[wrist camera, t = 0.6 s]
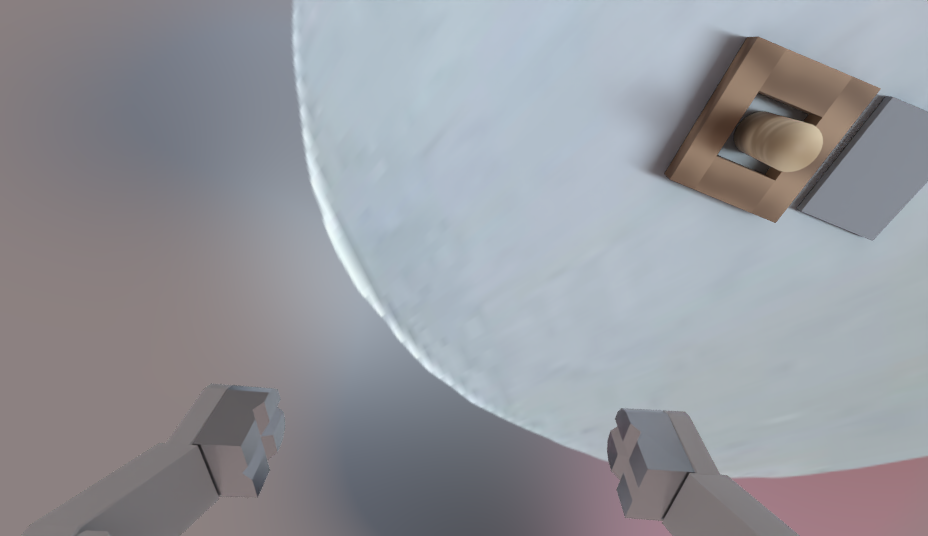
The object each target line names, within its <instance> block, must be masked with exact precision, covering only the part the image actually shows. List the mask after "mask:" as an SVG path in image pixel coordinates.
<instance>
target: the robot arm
mask: <svg viewBox="0 0 928 536" xmlns="http://www.w3.org/2000/svg"><path fill="white" fill-rule="evenodd" d="M279 401H280V396H279V393H278V390H277V389H272V388H261V387H249V386H237V385H222V384H210V385H209V386H207V387H206V388H204V389H203V391H202V392H201V394H200V395H199V396H198V398H197V399H196V401H195V402H194V404H193V405H192V406H191V408H190V409H189V411H188V412H187V414H186V415H185V416H184V418H183V419H182V421H181V422H180V424H179V425H178V426H177V428H176V429H175V431H174V432H173V434H172V435H171V436H170V438H169V439H168V441H167V442H166V443H158V444H157V445H155V446H154V447H152V448H150V449H149V450H147V451H146V452H144V453H142V454H141V455H139V456H138V457H136V458H135V459H133V460H131V461H130V462H128V463H127V464H125V465H124V466H122V467H120V468H119V469H117V470H116V471H114V472H112V473H111V474H109V475H108V476H106V477H105V478H103V479H101V480H100V481H98V482H97V483H95V484H94V485H92V486H90V487H89V488H87V489H86V490H84V491H83V492H81V493H79V494H78V495H76V496H75V497H73V498H71V499H70V500H68V501H67V502H65V503H64V504H62V505H60V506H59V507H57V508H56V509H54V510H52V511H51V512H50V513H48V514H46V515H45V516H43V517H42V518H40V519H38V520H37V521H35V522H34V523H32V524H30V525H29V527H28V528H27V529H26V530H25V531H24V532H23V534H22V535H21V536H180V535H181V534H182V533H183V532H184V531H186V530H187V529H188V528H189V527H190V526H191V525H192V524H193V523H194V522H195V521H196V520H197V519H198V518H199V517H200V516H202V515H203V514H204V513H205V512H206V511H207V510H208V509H209V508H210V507H211V506H212V505H213V504H214V503H216V501H218V500H219V497H255V498H256V497H258V496H259V494H260V491H261V489H262V487H263V485H264V482H265V480H266V478H267V475H268V473H269V471H270V469H269V465H268V462H267V460H269V459H270V458H271V457H272V456H274V455H275V454H276V453H277V452H278V450H279V448H280V445H281V443H282V440H283V435H284V431H285V417H284V413H283V411H282V410H281V409H279V408H278V407H277V405H278V403H279ZM615 420H616V423H617V427H616V428H614V429H613V430H611V431H610V434H609V438H608V444H607V454H608V461H609V464H610V468H611V471H612V472H613V473H614V475H615V476H617V478H618V479H619V480H620V483H619V485H618V487H617V492H618V496H619V499H620V502H621V506H622V509H623V512H624V516H625V518H634V519H646V520H658V521H663V522H662V524H663V525H664V526H665V527H666V528H667V530H668V531H669V532H670V533H671V534H672V536H799V535H798V534H797V533H796V532H795V531H793V530H792V529H791V528H790V527H789V526H787V525H786V524H785V523H784V522H783V521H781V520H780V519H779V518H778V517H777V516H775V515H774V514H773V513H772V512H771V511H769V510H768V509H767V508H766V507H765V506H763V505H762V504H761V503H760V502H759V501H757V500H756V499H755V498H754V497H752V496H751V495H750V494H749V493H748V492H746V491H745V490H744V489H743V488H741V487H740V486H739V485H738V484H737V483H736V482H734V481H733V480H732V479H731V478H730V477H728V476H727V475H720V473H719V471H718V469H717V467H716V466H715V464H714V462H713V460H712V458H711V456H710V454H709V452H708V450H707V449H706V447H705V445H704V443H703V441H702V439H701V437H700V435H699V433H698V431H697V430H696V428H695V426H694V424H693V422H692V420H691V418H690V416H689V415H688V414H687V413H686V412H679V411H661V410H647V409H625V408H621V409H620V410H619V411H618V413H617V415H616V418H615Z"/></svg>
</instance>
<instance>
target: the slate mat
mask: <svg viewBox="0 0 928 536" xmlns="http://www.w3.org/2000/svg"><path fill="white" fill-rule="evenodd" d="M927 182H928V112H927V111H925V110H923V109H920V108H918V107H915V106H913V105H911V104H908V103H906V102H904V101H901V100H899V99H897V98H894V97H889V96H886V97H885V98H884V99H883V100H882V102H881V103H880V104H879V106H878V107H877V108H876V109H875V111H874V112H873V113H872V114H871V116H870V117H869V118H868V119H867V121H866V122H865V123H864V124H863V126H862V127H861V128H860V129H859V131H858V132H857V133H856V134H855V136H854V137H853V138H852V139H851V141H850V142H849V143H848V144H847V146H846V147H845V148H844V149H843V151H842V152H841V153H840V155H839V156H838V157H837V158H836V160H835V161H834V162H833V163H832V165H831V166H830V167H829V168H828V170H827V171H826V172H825V173H824V175H823V176H822V177H821V178H820V180H819V181H818V182H817V183H816V185H815V186H814V187H813V188H812V190H811V191H810V192H809V193H808V195H807V196H806V197H805V198H804V200H803V201H802V202H801V204H800V205H799V206H798V207H797V209H798V210H800V211H802V212H804V213H806V214H809V215H811V216H814V217H816V218H819V219H821V220H823V221H826V222H828V223H831V224H833V225H835V226H838V227H840V228H843V229H845V230H848V231H850V232H852V233H855V234H857V235H860V236H862V237H865V238H867V239H869V240H872V241H873V240H874V239H875V238H876V237H877V236H878V235H879V233H880V232H881V231H882V230H883V229H884V228H885V227H886V226H887V225H888V224H889V223H890V222H891V220H892V219H893V218H894V217H895V216H896V215H897V214H898V213H899V212H900V211H901V210H902V209H903V208H904V206H905V205H906V204H907V203H908V202H909V201H910V200H911V199H912V198H913V197H914V196H915V195H916V193H917V192H918V191H919V190H920V189H921V188H922V187H923V186H924V185H925V184H926V183H927Z"/></svg>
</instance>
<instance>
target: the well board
mask: <svg viewBox="0 0 928 536" xmlns="http://www.w3.org/2000/svg"><path fill="white" fill-rule="evenodd" d="M879 90H880V88H878V87H876V86H873V85H871V84H869V83H866V82H864V81H862V80H859V79H857V78H855V77H852V76H850V75H847V74H845V73H843V72H840V71H838V70H836V69H833V68H831V67H829V66H826V65H824V64H821V63H819V62H817V61H814V60H812V59H810V58H807V57H805V56H803V55H800V54H798V53H796V52H793V51H791V50H788V49H786V48H784V47H781V46H779V45H777V44H774V43H772V42H770V41H767V40H765V39H762V38H760V37H747V38H746V40H745V42H744V43H743V45H742V47H741V48H740V50H739V52H738V53H737V55H736V56H735V58H734V60H733V61H732V63H731V65H730V66H729V68H728V70H727V71H726V73H725V75H724V76H723V78H722V80H721V81H720V83H719V84H718V86H717V88H716V89H715V91H714V93H713V94H712V96H711V98H710V99H709V101H708V103H707V104H706V106H705V108H704V109H703V111H702V113H701V114H700V116H699V117H698V119H697V121H696V122H695V124H694V126H693V127H692V129H691V131H690V132H689V134H688V136H687V137H686V139H685V141H684V142H683V144H682V145H681V147H680V149H679V150H678V152H677V154H676V155H675V157H674V159H673V160H672V162H671V164H670V165H669V167H668V169H667V170H666V172H665V173H664V174H665V175H666V176H667V177H668V178H669V179H670V180H672V181H675V182H677V183H680V184H682V185H685V186H687V187H689V188H692V189H694V190H697V191H699V192H702V193H704V194H706V195H709V196H711V197H714V198H716V199H719V200H721V201H723V202H726V203H728V204H731V205H733V206H736V207H738V208H740V209H743V210H745V211H748V212H750V213H753V214H755V215H757V216H760V217H762V218H765V219H767V220H770V221H772V222H774V223H776V222H777V221H778V219H779V218H780V217H781V215H782V214H783V213H784V212H785V210H786V209H787V208H788V207H789V205H790V204H791V203H792V201H793V200H794V199H795V198H796V196H797V195H798V194H799V192H800V191H801V190H802V189H803V187H804V186H805V185H806V184H807V182H808V181H809V180H810V178H811V177H812V176H813V175H814V173H815V172H816V171H817V170H818V168H819V167H820V166H821V164H822V163H823V162H824V161H825V159H826V158H827V157H828V155H829V154H830V153H831V152H832V150H833V149H834V148H835V147H836V145H837V144H838V143H839V141H840V140H841V139H842V138H843V136H844V135H845V134H846V133H847V131H848V130H849V129H850V127H851V126H852V125H853V124H854V122H855V121H856V120H857V119H858V117H859V116H860V115H861V113H862V112H863V111H864V110H865V108H866V107H867V106H868V104H869V103H870V102H871V101H872V99H873V98H874V97H875V96H876V94H877V93H878V92H879ZM757 93H760V94H762V95H765V96H767V97H769V98H772V99H774V100H777V101H779V102H781V103H784V104H786V105H789V106H791V107H793V108H796V109H798V110H800V111H803V112H805V113H808V114H809V115H808V116H807V117H806V119H805V120H804V122H805V123H809V124H812V125H814V126H816V127H817V128H818V129H819V130H820V132H821V134H822V137H823V145H822V149H821V151H820V153H819V155H818V156H817V158H816V159H815V160H814V161H813V162H812V163H811V164H809V165H808V166H806V167H805V168H803V169H800V170H798V171H793V172H782V171H779V170H777V169H775V168H773V167H770V168H769V170H768V171H767V172H766V174H765V175H764V174H762V173H759V172H757V171H755V170H752V169H750V168H747V167H745V166H743V165H740V164H738V163H735V162H733V161H731V160H728V159H726V158H723V157H721V156H718V155H717V154H718V153H719V151H720V150H721V148H722V147H723V145H724V144H725V142H726V141H727V139H728V138H729V136H730V135H731V133H732V132H733V130H734V128H735V127H736V125H737V124H738V122H739V121H740V119H741V118H742V116H743V115H744V113H745V112H746V110H747V109H748V107H749V106H750V104H751V103H752V101H753V99H754V98H755V96H756V95H757Z"/></svg>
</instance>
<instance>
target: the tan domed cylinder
mask: <svg viewBox="0 0 928 536" xmlns="http://www.w3.org/2000/svg"><path fill="white" fill-rule="evenodd" d="M734 142H735V145H736V147H737V148H738V149H739V150H740V151H741V152H743V153H745V154H747V155H749V156H751V157H753V158H755V159H757V160H759V161H761V162H763V163H765V164H767V165H769V166H771V167H773V168H775V169H777V170H779V171H782V172H793V171H798V170H800V169H803V168H805V167H806V166H808V165H809V164H811V163H812V162H813V161H814V160H815V159H816V158H817V156H818V155H819V153H820V151H821V149H822V145H823V137H822V134H821V132H820V130H819V129H818V128H817V127H816V126H814V125H812V124H809V123H805V122H802V121H798V120H794V119H791V118H787V117H784V116H780V115H776V114H773V113H769V112H756V113H753V114H751V115H749V116H747V117H746V118H744V119H743V120H742V121H741V122H740V124H739V125H738V126H737V128H736V131H735V134H734Z"/></svg>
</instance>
